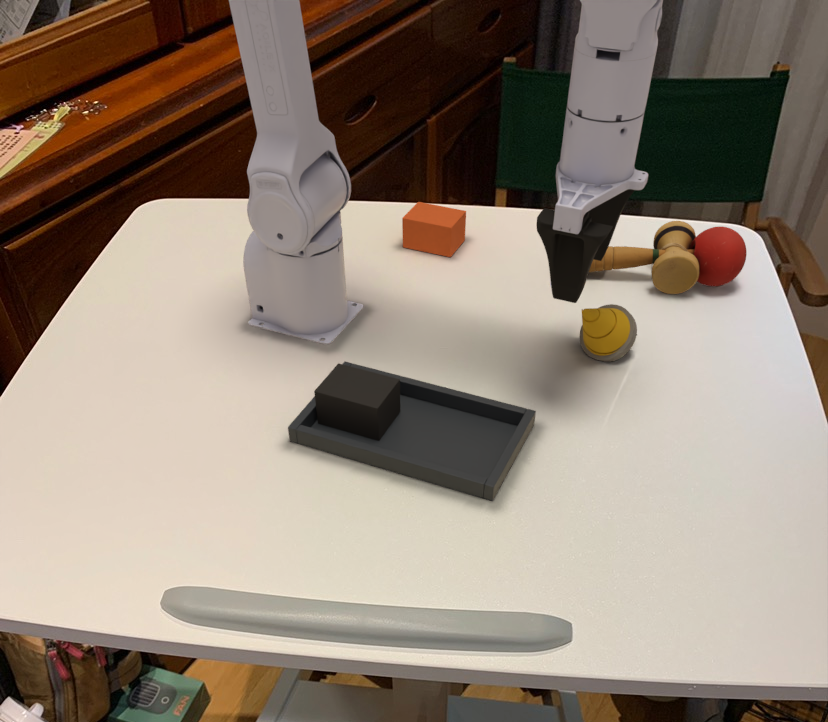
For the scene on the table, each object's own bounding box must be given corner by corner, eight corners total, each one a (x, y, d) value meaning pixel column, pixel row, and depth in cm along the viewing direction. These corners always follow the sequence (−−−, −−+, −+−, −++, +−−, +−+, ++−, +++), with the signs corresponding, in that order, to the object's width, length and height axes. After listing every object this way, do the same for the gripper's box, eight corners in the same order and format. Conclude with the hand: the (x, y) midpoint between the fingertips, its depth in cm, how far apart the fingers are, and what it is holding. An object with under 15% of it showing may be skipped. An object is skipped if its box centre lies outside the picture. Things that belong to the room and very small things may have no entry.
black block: (317, 423, 72) (313, 391, 70) (341, 395, 75) (338, 362, 72) (379, 441, 71) (377, 408, 68) (400, 411, 73) (400, 378, 71)
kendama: (570, 305, 89) (747, 296, 85) (570, 245, 85) (755, 233, 81) (572, 281, 95) (737, 272, 91) (572, 224, 91) (744, 212, 87)
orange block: (402, 247, 95) (402, 217, 92) (418, 230, 98) (418, 201, 95) (450, 257, 93) (451, 227, 91) (465, 240, 96) (466, 210, 93)
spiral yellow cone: (646, 365, 80) (611, 332, 71) (593, 374, 82) (554, 343, 74) (645, 312, 80) (611, 273, 72) (593, 323, 83) (554, 287, 75)
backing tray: (290, 445, 71) (287, 427, 70) (346, 378, 78) (344, 360, 76) (492, 505, 66) (493, 487, 64) (533, 428, 72) (536, 410, 71)
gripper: (635, 153, 55) (601, 330, 65) (680, 84, 64) (644, 248, 74) (535, 136, 57) (517, 310, 67) (592, 71, 66) (569, 233, 76)
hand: (578, 277), depth 71 cm, fingers open, 7 cm apart
